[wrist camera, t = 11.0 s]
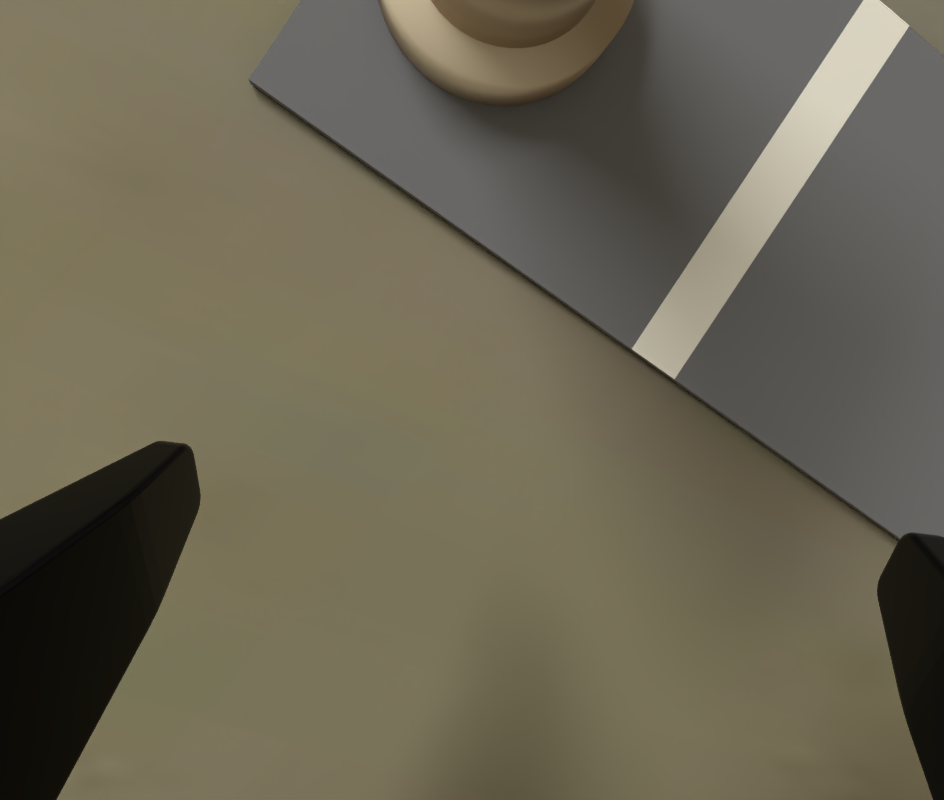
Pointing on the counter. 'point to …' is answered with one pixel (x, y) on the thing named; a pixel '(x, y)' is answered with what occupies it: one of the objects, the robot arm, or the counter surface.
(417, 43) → the beech pin
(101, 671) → the robot arm
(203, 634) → the counter surface
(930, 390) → the mat
